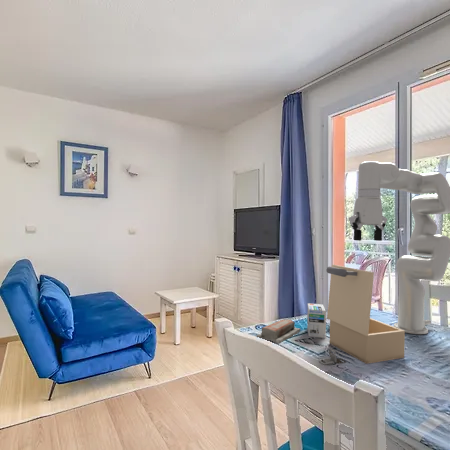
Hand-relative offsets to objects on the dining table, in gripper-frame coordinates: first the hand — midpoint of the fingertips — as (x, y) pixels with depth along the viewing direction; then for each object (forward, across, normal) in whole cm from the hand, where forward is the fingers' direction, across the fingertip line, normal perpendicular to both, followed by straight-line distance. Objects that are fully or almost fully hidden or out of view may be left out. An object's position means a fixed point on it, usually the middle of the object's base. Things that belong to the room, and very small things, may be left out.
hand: (367, 240), depth 119 cm
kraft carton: (+38, +6, +6) cm, 39 cm away
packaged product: (+39, +27, -17) cm, 50 cm away
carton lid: (+19, +13, +6) cm, 24 cm away
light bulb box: (+39, +12, -14) cm, 43 cm away
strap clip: (+39, +24, +11) cm, 47 cm away
